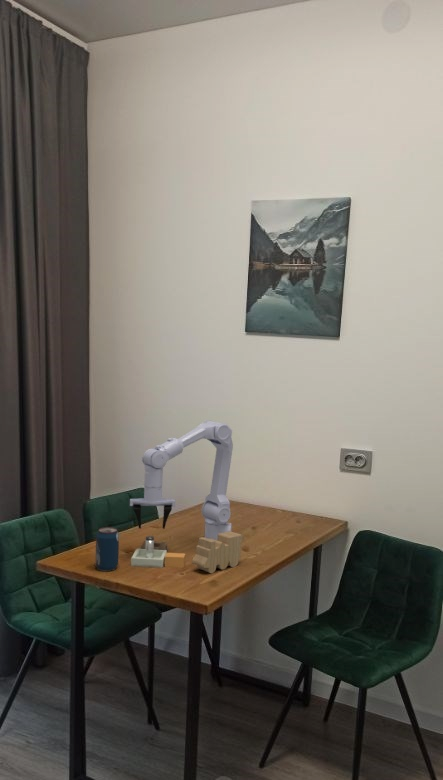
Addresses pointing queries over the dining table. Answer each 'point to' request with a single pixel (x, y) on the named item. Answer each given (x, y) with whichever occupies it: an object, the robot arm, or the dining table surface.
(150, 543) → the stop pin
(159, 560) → the tray
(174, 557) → the block
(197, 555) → the toy train
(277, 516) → the dining table surface
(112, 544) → the soda can
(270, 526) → the dining table surface
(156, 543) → the socket block
